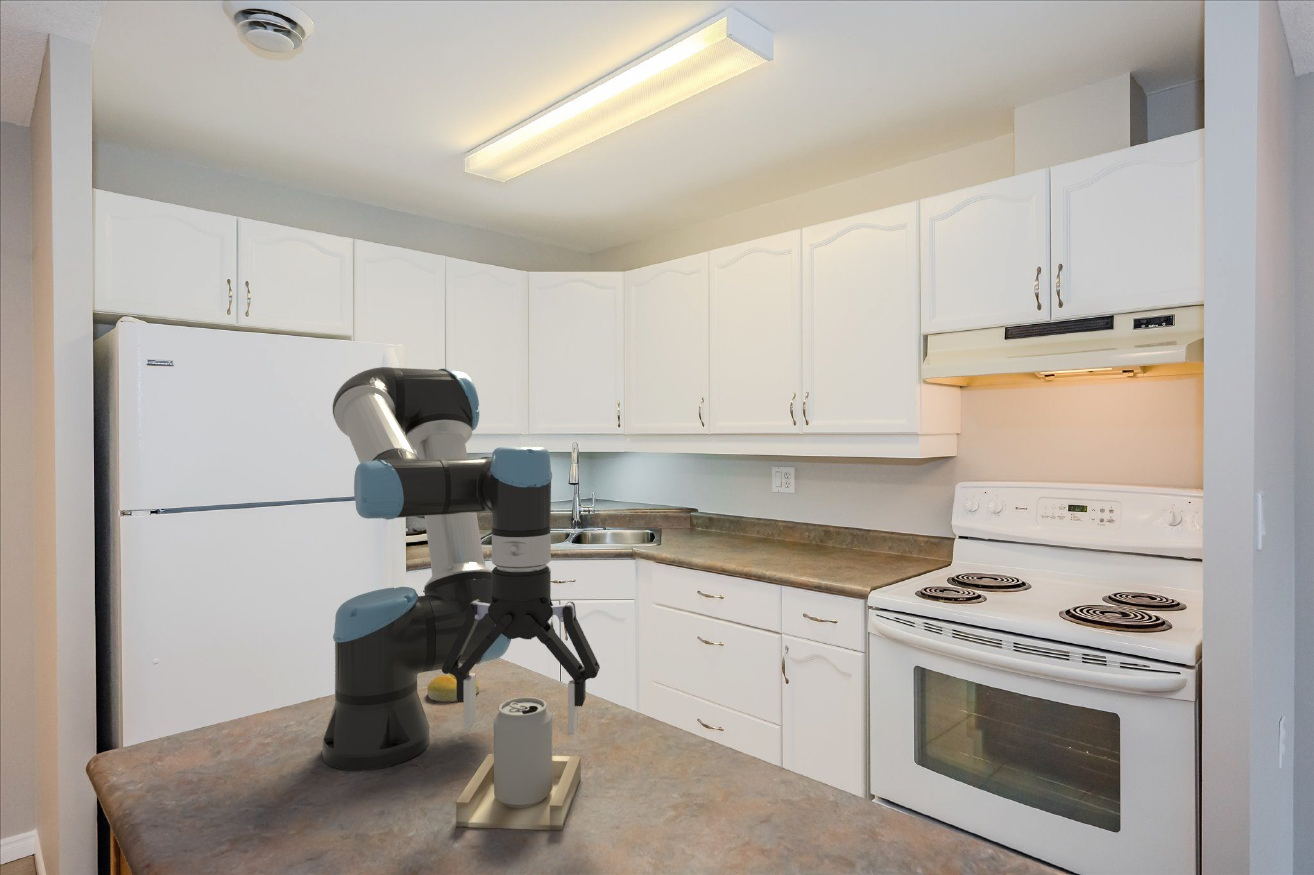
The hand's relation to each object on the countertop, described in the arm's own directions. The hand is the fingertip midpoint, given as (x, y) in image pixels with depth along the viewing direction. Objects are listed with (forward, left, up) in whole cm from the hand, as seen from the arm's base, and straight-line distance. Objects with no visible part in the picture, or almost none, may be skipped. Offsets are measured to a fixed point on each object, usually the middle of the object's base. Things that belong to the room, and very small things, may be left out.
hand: (521, 728), depth 93 cm
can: (0, 0, -9) cm, 9 cm away
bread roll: (-22, +37, -10) cm, 44 cm away
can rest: (0, 0, -9) cm, 9 cm away
